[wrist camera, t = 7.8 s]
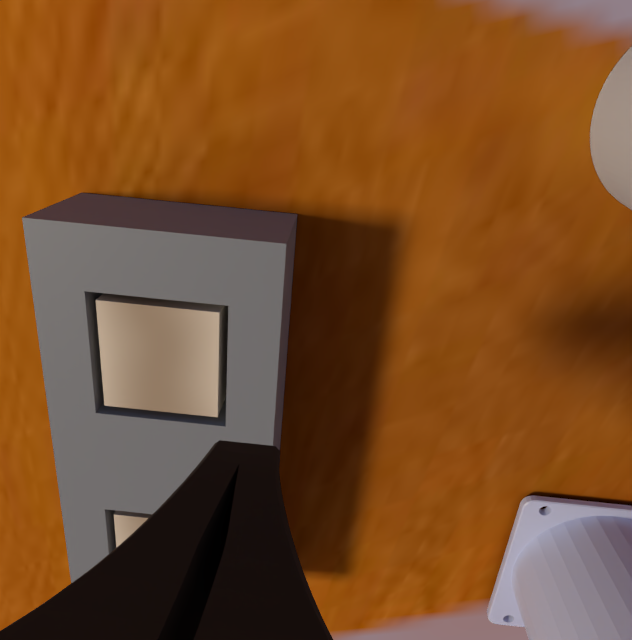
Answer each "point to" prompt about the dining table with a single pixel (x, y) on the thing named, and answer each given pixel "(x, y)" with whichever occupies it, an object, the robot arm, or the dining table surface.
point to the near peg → (163, 354)
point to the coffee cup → (614, 132)
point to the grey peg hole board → (161, 283)
